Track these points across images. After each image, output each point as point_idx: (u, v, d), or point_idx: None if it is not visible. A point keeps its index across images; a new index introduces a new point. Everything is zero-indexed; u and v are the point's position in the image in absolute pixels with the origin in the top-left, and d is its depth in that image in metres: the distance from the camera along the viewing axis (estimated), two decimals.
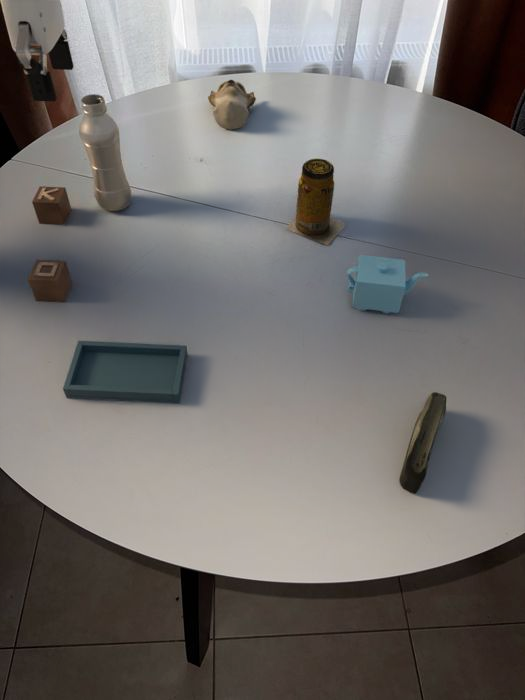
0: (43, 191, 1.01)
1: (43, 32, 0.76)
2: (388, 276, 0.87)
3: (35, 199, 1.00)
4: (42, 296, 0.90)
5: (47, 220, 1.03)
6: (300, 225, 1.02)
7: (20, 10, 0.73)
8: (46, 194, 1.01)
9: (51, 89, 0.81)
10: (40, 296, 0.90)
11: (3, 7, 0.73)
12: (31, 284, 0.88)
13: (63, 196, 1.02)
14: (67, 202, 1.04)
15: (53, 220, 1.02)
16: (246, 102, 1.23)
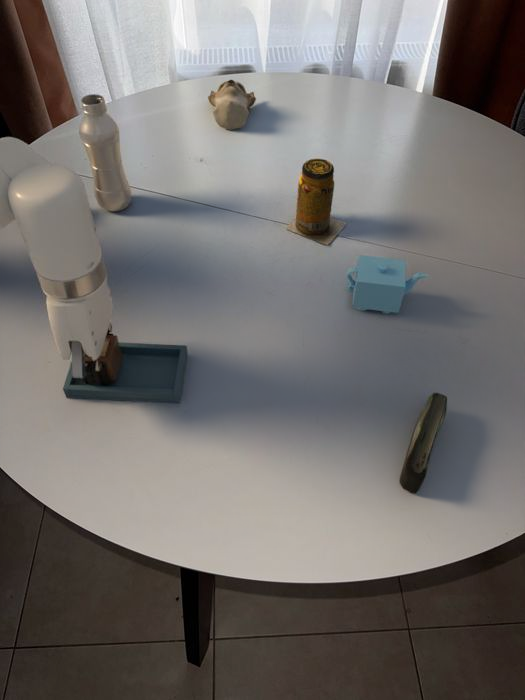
0: None
1: (94, 346, 0.70)
2: (388, 276, 0.86)
3: None
4: None
5: None
6: (300, 225, 1.02)
7: (71, 333, 0.68)
8: None
9: (105, 377, 0.78)
10: None
11: (53, 329, 0.68)
12: None
13: None
14: None
15: None
16: (246, 102, 1.23)
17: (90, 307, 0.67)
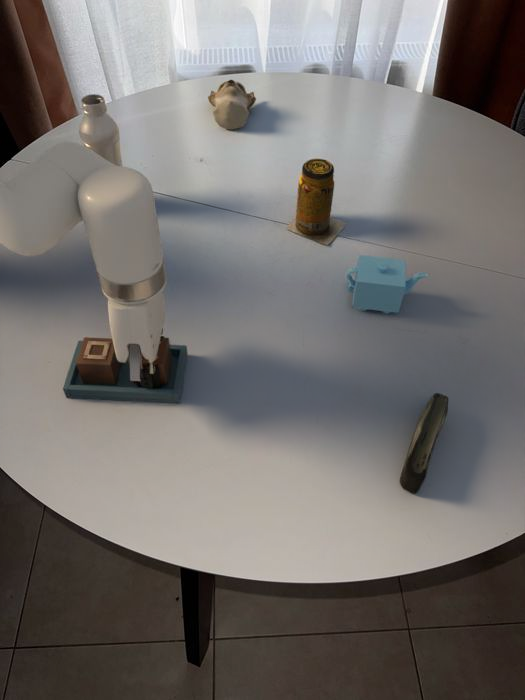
0: None
1: (152, 348, 0.70)
2: (388, 276, 0.86)
3: None
4: (91, 380, 0.79)
5: None
6: (300, 225, 1.02)
7: (131, 336, 0.68)
8: None
9: (157, 380, 0.77)
10: (89, 379, 0.79)
11: (112, 332, 0.68)
12: (80, 368, 0.77)
13: (167, 351, 0.78)
14: (169, 354, 0.80)
15: None
16: (246, 102, 1.23)
17: (150, 310, 0.67)
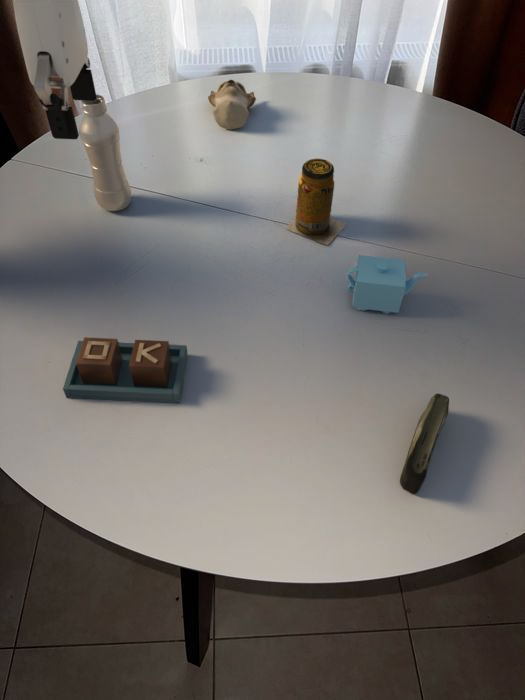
0: (141, 348, 0.78)
1: (65, 63, 0.66)
2: (388, 276, 0.86)
3: (132, 361, 0.77)
4: (91, 380, 0.79)
5: (145, 384, 0.79)
6: (300, 225, 1.02)
7: (40, 39, 0.64)
8: (146, 354, 0.77)
9: (73, 126, 0.71)
10: (89, 379, 0.79)
11: (20, 36, 0.64)
12: (80, 368, 0.77)
13: (167, 354, 0.79)
14: (169, 357, 0.81)
15: (153, 383, 0.79)
16: (246, 102, 1.23)
17: (60, 9, 0.63)
